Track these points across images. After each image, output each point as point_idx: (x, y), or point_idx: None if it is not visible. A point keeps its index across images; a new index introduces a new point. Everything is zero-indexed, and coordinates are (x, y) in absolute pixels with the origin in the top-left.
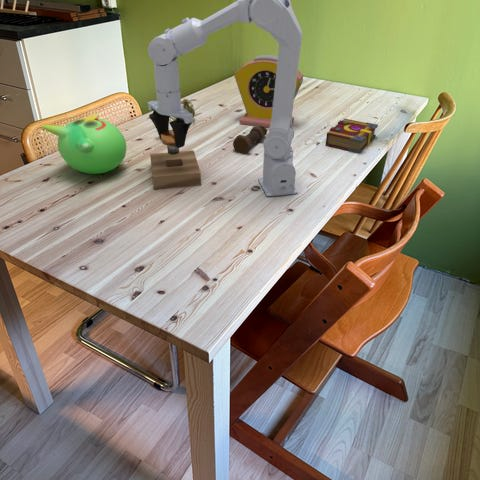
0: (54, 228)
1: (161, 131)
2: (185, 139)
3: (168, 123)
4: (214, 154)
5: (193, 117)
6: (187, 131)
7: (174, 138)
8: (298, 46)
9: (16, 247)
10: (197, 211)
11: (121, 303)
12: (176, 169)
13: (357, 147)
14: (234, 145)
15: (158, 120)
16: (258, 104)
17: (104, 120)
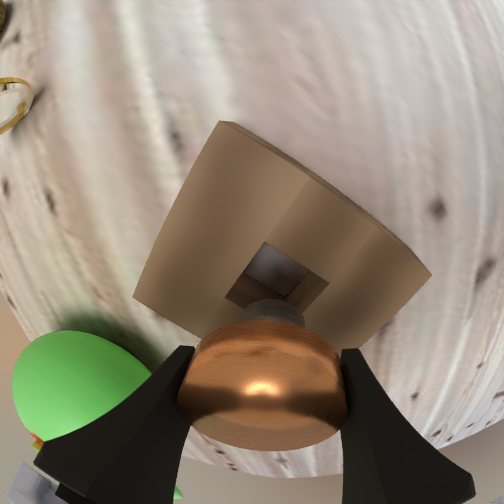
0: (279, 461)
1: (183, 426)
2: (375, 377)
3: (144, 422)
4: (234, 11)
5: (4, 3)
6: (410, 425)
7: (330, 433)
8: None
9: (283, 475)
10: (462, 339)
11: (442, 446)
12: (333, 321)
13: None
14: None
15: (166, 497)
16: None
17: (41, 431)
